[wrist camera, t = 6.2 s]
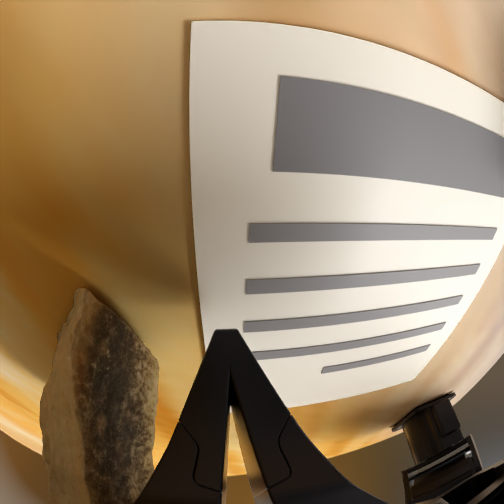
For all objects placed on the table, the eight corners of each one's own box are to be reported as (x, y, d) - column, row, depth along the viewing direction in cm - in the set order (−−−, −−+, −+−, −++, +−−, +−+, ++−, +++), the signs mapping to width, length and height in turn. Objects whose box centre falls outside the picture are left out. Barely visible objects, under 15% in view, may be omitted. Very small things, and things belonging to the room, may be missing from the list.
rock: (113, 456, 14) (240, 481, 11) (25, 508, 6) (142, 598, 3) (57, 309, 15) (166, 272, 12) (-57, 328, 7) (-44, 297, 4)
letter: (412, 377, 17) (413, 380, 17) (214, 410, 15) (214, 414, 15) (538, 128, 6) (542, 130, 6) (192, 22, 5) (191, 20, 4)
